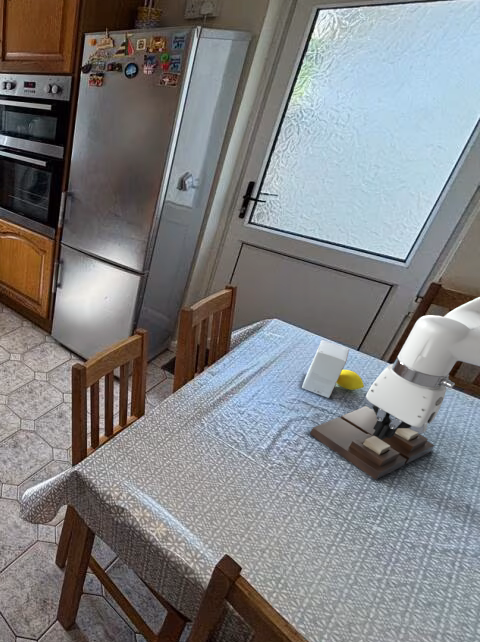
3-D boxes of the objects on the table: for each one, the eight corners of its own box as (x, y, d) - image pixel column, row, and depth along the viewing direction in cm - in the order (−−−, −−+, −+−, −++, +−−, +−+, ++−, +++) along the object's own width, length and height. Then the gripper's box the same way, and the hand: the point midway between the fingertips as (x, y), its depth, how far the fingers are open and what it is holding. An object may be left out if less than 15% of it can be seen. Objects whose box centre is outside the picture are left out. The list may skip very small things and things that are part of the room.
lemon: (326, 383, 121) (332, 368, 119) (335, 377, 123) (342, 362, 121) (355, 397, 115) (362, 382, 113) (364, 391, 117) (372, 376, 115)
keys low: (430, 451, 98) (438, 439, 97) (405, 464, 95) (413, 452, 94) (362, 411, 110) (368, 400, 109) (338, 422, 107) (343, 410, 106)
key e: (387, 451, 95) (390, 445, 94) (378, 455, 94) (382, 450, 93) (371, 440, 97) (374, 435, 96) (362, 444, 96) (365, 439, 96)
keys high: (402, 466, 95) (410, 453, 93) (375, 479, 92) (383, 467, 90) (335, 423, 107) (341, 411, 105) (309, 434, 104) (315, 422, 102)
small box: (329, 398, 115) (346, 361, 109) (301, 388, 119) (317, 351, 113) (332, 384, 120) (349, 348, 115) (306, 375, 124) (321, 339, 119)
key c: (416, 437, 98) (419, 432, 97) (407, 441, 97) (411, 436, 96) (399, 428, 101) (402, 422, 100) (391, 431, 100) (394, 426, 99)
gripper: (477, 390, 81) (433, 456, 89) (385, 348, 93) (354, 409, 101) (456, 400, 78) (412, 467, 86) (365, 355, 91) (334, 417, 99)
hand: (380, 435), depth 94 cm, fingers closed
